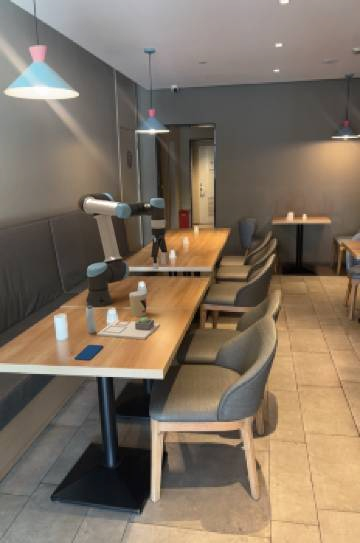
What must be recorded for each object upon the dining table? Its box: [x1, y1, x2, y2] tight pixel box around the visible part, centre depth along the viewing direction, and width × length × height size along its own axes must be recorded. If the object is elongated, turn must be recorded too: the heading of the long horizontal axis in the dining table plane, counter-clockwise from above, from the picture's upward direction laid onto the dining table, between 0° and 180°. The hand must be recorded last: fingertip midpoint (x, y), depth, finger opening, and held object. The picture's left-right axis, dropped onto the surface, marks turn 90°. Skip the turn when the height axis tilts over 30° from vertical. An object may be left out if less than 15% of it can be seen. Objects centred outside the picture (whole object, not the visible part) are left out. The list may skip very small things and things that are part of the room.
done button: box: [139, 316, 150, 323], centre depth 216 cm, size 4×4×3 cm
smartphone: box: [74, 344, 104, 361], centre depth 190 cm, size 7×1×15 cm
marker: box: [85, 305, 96, 334], centre depth 215 cm, size 4×4×13 cm
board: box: [96, 318, 160, 340], centre depth 216 cm, size 24×20×4 cm
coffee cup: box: [128, 290, 148, 318], centre depth 239 cm, size 9×9×12 cm
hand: (159, 266), depth 244 cm, fingers open, 13 cm apart
